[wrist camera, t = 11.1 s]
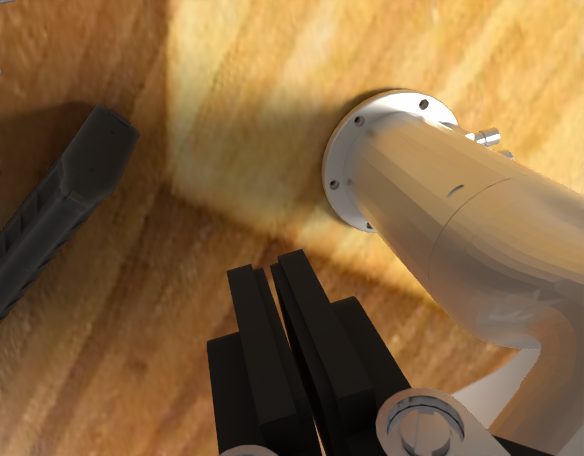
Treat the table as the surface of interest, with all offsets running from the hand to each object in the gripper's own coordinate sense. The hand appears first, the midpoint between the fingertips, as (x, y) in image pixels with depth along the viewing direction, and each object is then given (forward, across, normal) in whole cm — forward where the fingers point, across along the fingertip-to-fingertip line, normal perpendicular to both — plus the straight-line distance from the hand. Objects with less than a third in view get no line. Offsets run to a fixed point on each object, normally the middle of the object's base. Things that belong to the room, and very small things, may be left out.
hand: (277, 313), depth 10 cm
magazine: (+28, +19, +10) cm, 35 cm away
